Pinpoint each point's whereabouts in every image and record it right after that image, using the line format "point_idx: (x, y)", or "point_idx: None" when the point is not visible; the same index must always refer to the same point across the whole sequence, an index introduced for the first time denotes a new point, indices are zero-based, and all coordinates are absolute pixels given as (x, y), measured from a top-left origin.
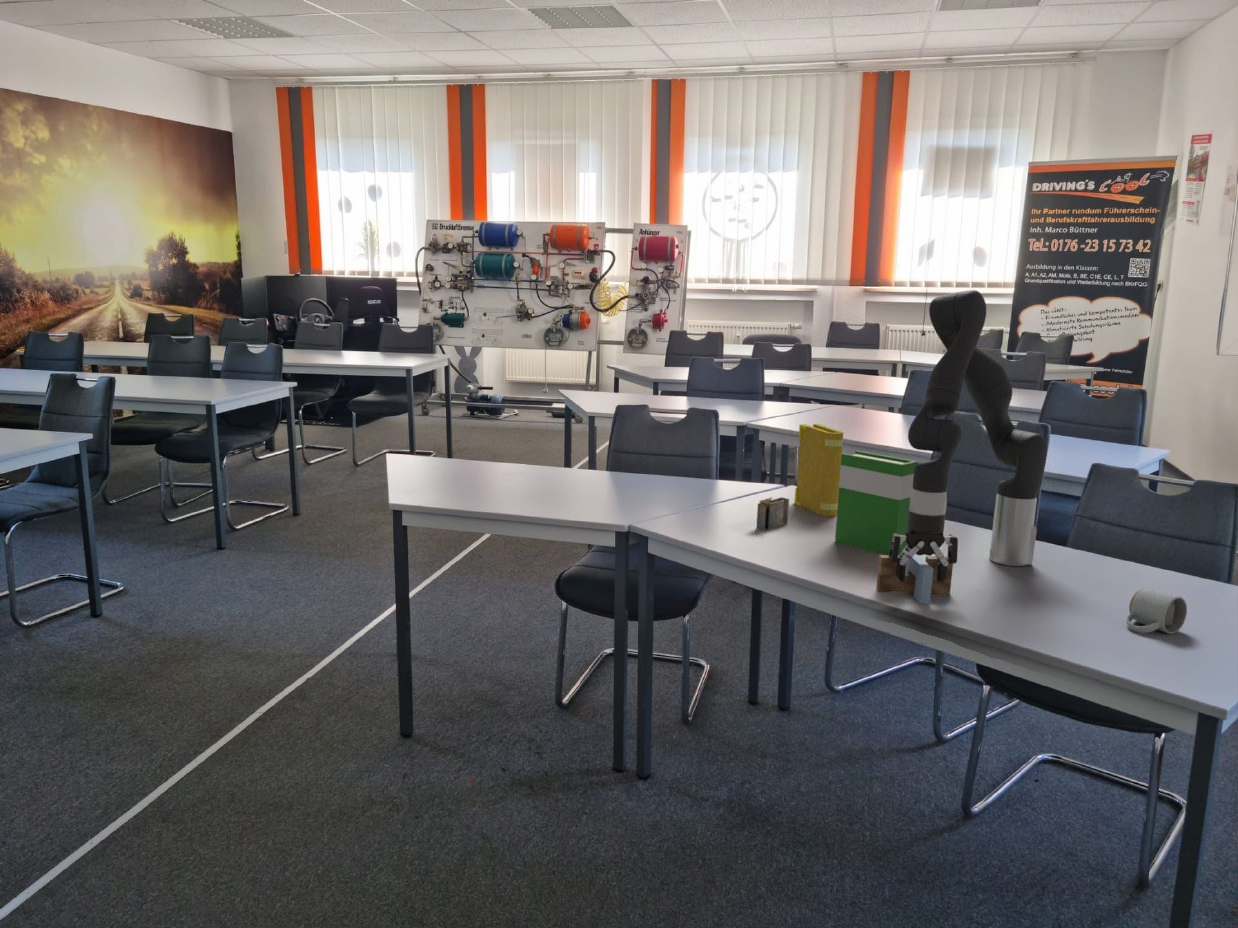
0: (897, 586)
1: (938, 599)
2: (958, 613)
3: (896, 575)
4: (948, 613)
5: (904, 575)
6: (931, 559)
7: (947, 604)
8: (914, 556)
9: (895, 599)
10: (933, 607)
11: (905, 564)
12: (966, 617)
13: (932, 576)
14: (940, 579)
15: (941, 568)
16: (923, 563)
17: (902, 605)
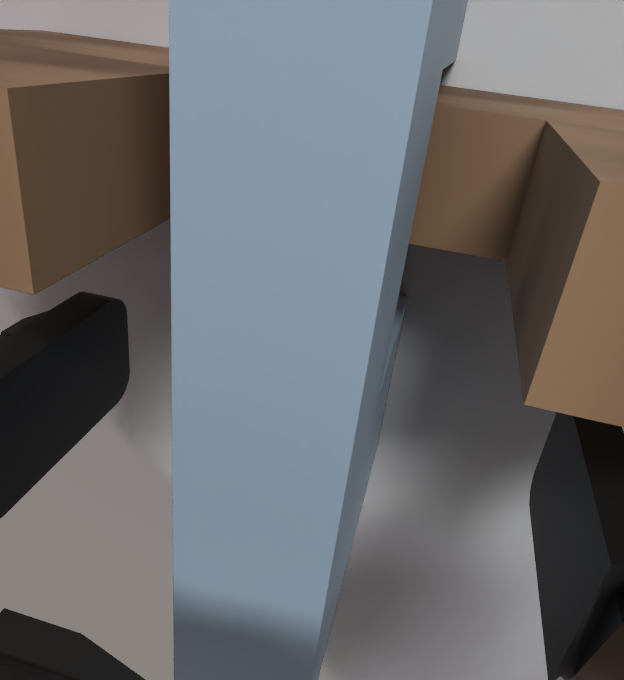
0: None
1: (518, 378)
2: (488, 618)
3: (39, 315)
4: (416, 601)
5: (83, 431)
6: (587, 414)
7: (522, 483)
8: (248, 184)
9: (146, 318)
10: (369, 503)
11: (102, 250)
12: (498, 671)
13: (322, 658)
14: (532, 516)
15: (545, 648)
16: (251, 588)
17: (162, 428)
